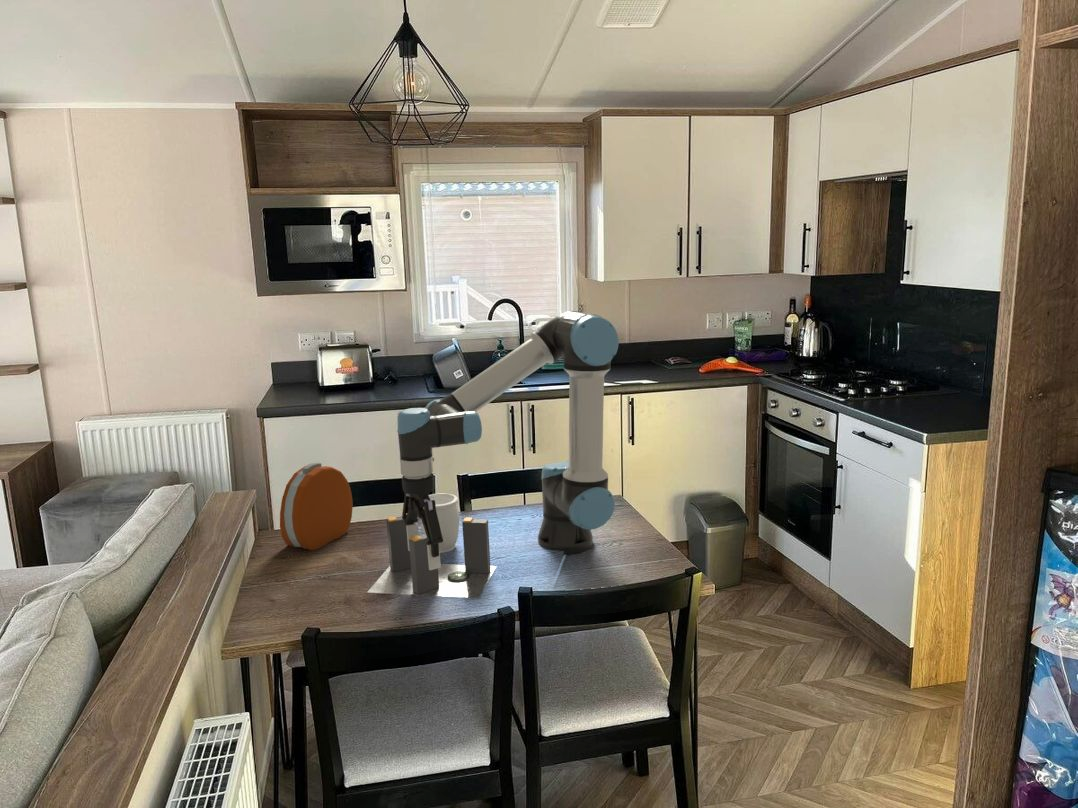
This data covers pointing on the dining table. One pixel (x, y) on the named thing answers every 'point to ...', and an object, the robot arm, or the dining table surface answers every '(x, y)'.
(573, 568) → the dining table surface
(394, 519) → the grey tall block
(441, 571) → the plate
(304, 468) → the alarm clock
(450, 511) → the jar
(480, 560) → the grey tall block piece
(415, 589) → the grey standing slab
